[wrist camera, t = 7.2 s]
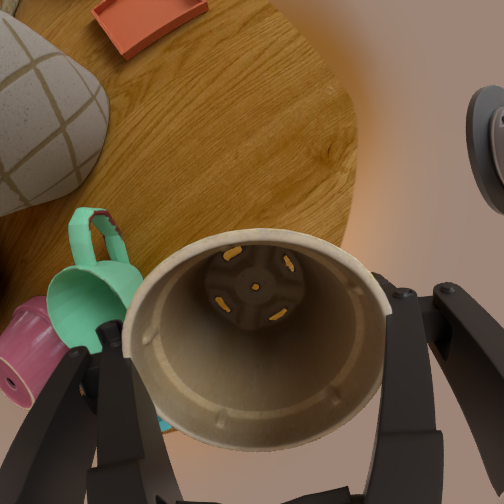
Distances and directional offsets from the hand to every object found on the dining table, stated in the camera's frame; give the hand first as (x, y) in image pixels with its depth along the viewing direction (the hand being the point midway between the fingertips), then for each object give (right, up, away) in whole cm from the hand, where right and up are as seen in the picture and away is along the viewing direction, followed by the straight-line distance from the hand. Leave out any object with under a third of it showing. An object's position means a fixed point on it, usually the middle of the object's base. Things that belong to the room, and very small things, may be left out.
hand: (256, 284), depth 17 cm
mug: (-15, +1, +14) cm, 21 cm away
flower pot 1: (-30, -14, +4) cm, 33 cm away
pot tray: (-13, +32, +6) cm, 35 cm away
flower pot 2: (0, 0, +1) cm, 1 cm away
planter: (-24, +17, +10) cm, 31 cm away
